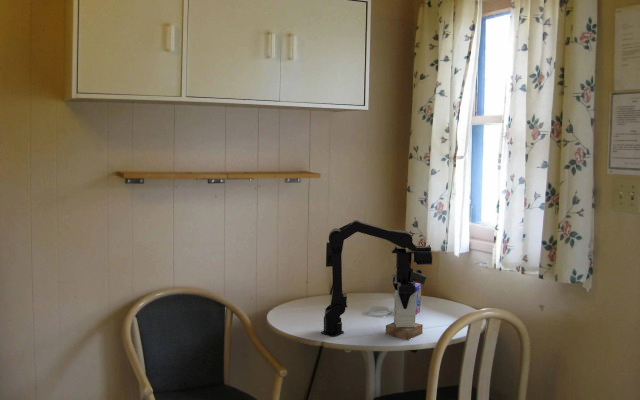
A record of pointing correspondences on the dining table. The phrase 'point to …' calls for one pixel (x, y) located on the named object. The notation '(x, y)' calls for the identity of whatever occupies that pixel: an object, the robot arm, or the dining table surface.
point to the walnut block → (404, 331)
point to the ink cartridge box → (417, 296)
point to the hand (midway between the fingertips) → (403, 305)
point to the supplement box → (404, 311)
